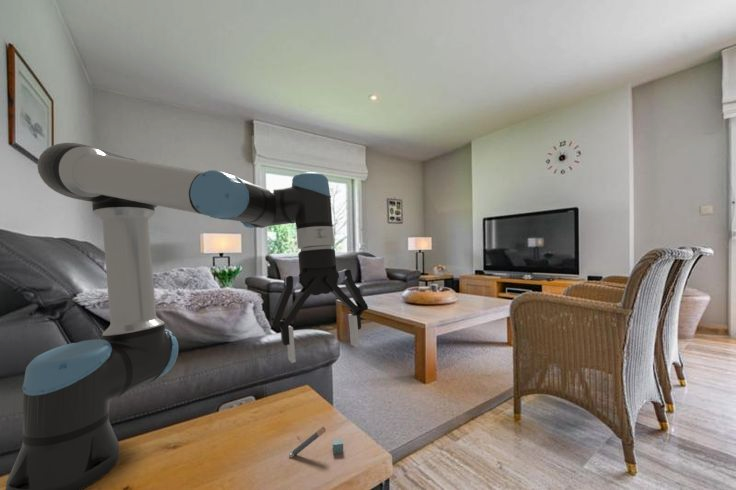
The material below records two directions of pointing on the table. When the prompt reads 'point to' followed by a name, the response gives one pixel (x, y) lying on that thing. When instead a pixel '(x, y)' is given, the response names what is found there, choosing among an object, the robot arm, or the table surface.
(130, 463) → the table surface
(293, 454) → the bar
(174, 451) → the table surface
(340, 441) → the teal matte cube
